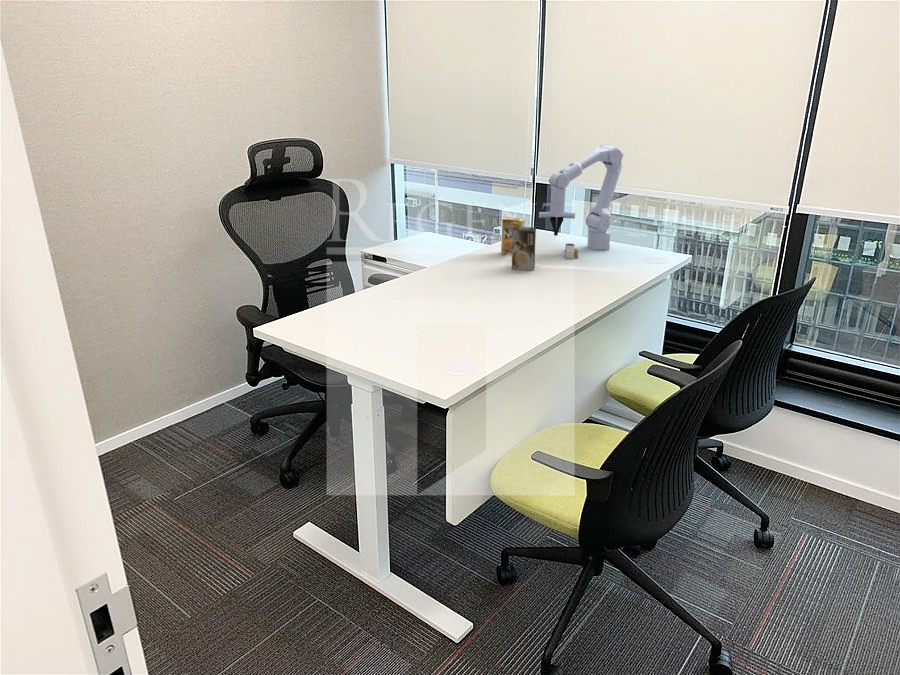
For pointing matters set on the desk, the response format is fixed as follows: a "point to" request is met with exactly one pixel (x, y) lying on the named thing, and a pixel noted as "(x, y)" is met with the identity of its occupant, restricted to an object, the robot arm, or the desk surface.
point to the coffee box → (523, 248)
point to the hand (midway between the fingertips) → (555, 234)
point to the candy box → (509, 232)
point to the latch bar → (569, 251)
